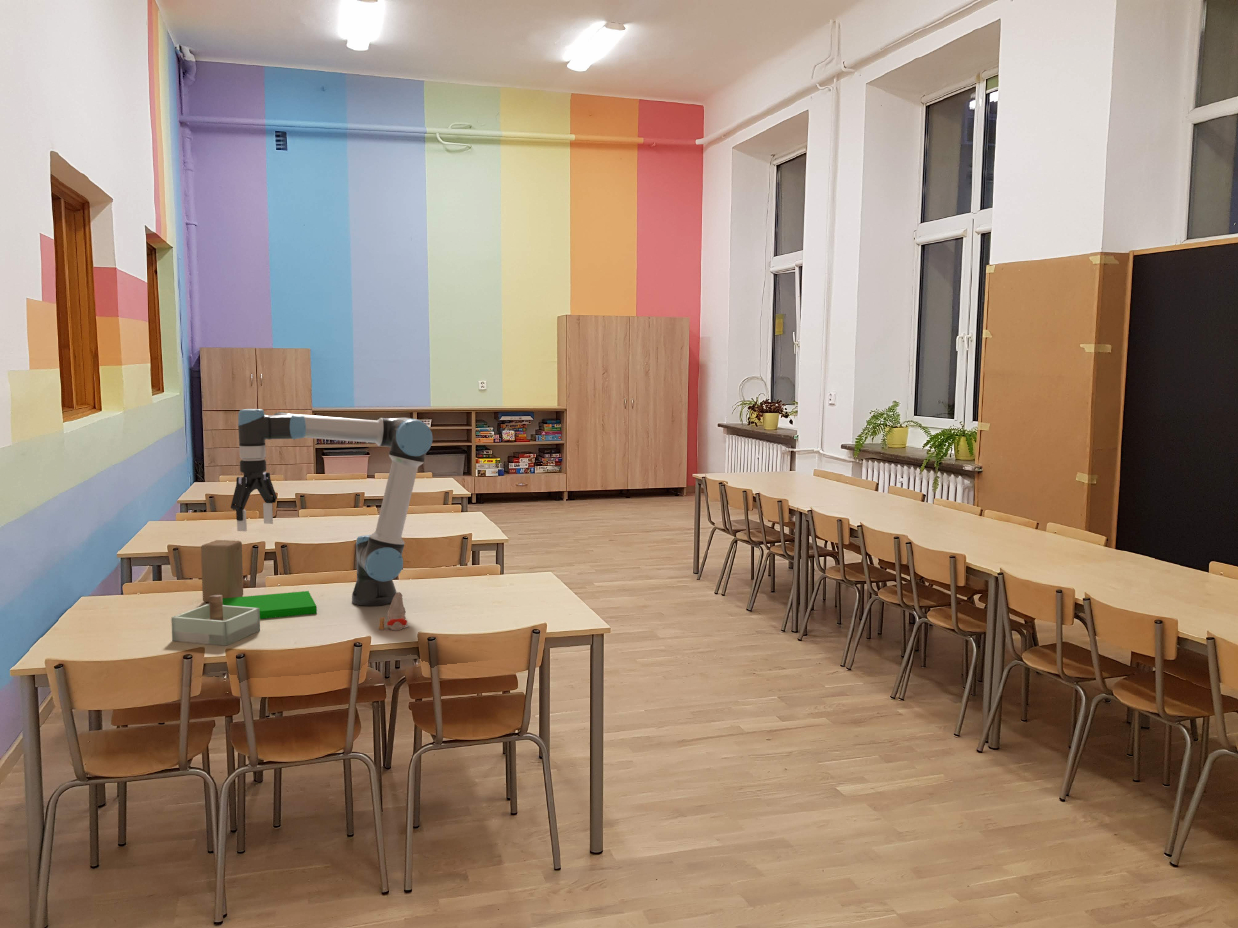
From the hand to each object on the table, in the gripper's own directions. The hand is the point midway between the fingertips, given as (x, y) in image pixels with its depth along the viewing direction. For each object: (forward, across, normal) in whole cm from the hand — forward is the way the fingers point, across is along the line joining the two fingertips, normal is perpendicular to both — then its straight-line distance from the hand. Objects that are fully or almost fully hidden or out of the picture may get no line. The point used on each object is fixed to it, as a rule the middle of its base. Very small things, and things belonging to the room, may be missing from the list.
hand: (255, 527), depth 284 cm
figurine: (+31, -5, +44) cm, 54 cm away
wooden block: (+30, -21, -28) cm, 47 cm away
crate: (+30, +16, -4) cm, 34 cm away
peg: (+30, +16, -4) cm, 34 cm away
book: (+31, -14, -6) cm, 35 cm away
